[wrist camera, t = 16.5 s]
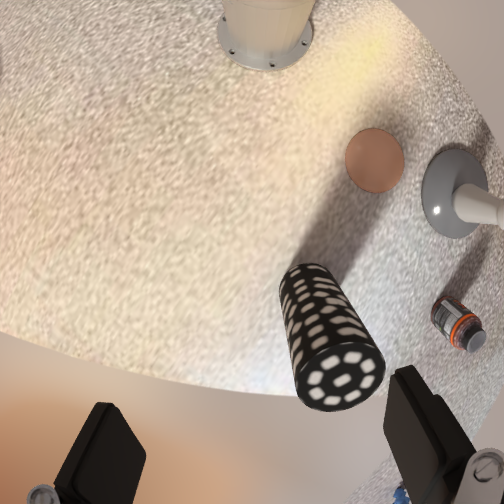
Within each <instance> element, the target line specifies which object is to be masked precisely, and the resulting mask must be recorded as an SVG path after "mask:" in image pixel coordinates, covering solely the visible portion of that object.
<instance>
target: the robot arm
mask: <svg viewBox="0 0 504 504" xmlns="http://www.w3.org/2000/svg"><path fill="white" fill-rule="evenodd" d="M315 1H316V0H222V3H223V8H224V13H223V14H222V16H221V17H220V20H219V22H218V26H217V38H218V41H219V44H220V46H221V49H222V50H223V52H224V53H225V55H226V56H227V57H228V58H229V59H230V60H232V61H233V62H234V63H236V64H238V65H239V66H241V67H244V68H246V69H249V70H254V71H260V72H272V71H278V70H282V69H285V68H288V67H290V66H292V65H294V64H295V63H297V62H298V61H299V60H300V59H301V58H302V57H303V56H304V55H305V54H306V52H307V50H308V49H309V47H310V44H311V40H312V28H311V24H310V21H309V20H308V18H309V15H310V13H311V10H312V8H313V6H314V3H315ZM225 20H226V21H225ZM302 44H305V46H303V45H302ZM232 52H233V53H234V54H233V55H232V54H231V53H232ZM270 65H274V67H271V66H270ZM383 429H384V434H385V436H386V438H387V441H388V443H389V446H390V448H391V451H392V453H393V456H394V458H395V461H396V463H397V466H398V469H399V471H400V474H401V476H402V479H403V481H404V484H405V487H406V489H407V492H408V495H409V497H410V500H411V503H412V504H504V453H503V452H501V451H500V450H498V449H494V448H485V449H482V450H480V451H478V452H477V451H476V450H475V448H474V447H473V445H472V443H471V442H470V440H469V438H468V437H467V435H466V434H465V432H464V430H463V429H462V427H461V426H460V424H459V422H458V421H457V419H456V418H455V416H454V415H453V413H452V412H451V410H450V409H449V407H448V406H447V404H446V403H445V401H444V400H443V398H442V397H441V396H440V395H438V394H436V395H433V394H432V392H431V391H430V389H429V388H428V386H427V385H426V383H425V382H424V380H423V379H422V377H421V376H420V374H419V373H418V371H417V370H416V368H415V367H414V366H413V365H409V366H406V367H402V368H399V369H396V370H395V374H393V375H391V377H390V384H389V391H388V399H387V405H386V412H385V418H384V424H383ZM145 460H146V452H145V450H144V448H143V447H142V445H141V444H140V442H139V441H138V439H137V438H136V436H135V435H134V433H133V432H132V430H131V428H130V427H129V425H128V423H127V422H126V420H125V419H124V417H123V415H122V414H121V412H120V410H119V409H118V408H117V407H115V405H114V404H113V403H104V402H97V403H96V404H95V406H94V407H93V409H92V411H91V413H90V414H89V416H88V418H87V420H86V422H85V424H84V425H83V427H82V429H81V431H80V433H79V435H78V436H77V438H76V440H75V442H74V444H73V446H72V448H71V450H70V452H69V454H68V455H67V458H66V460H65V462H64V463H63V465H62V467H61V469H60V471H59V473H58V475H57V477H56V479H55V481H54V485H55V488H54V489H53V487H51V486H49V485H45V484H42V485H38V486H36V487H34V488H33V489H32V490H31V491H30V492H29V494H28V496H27V504H133V500H134V497H135V494H136V490H137V487H138V483H139V480H140V477H141V473H142V470H143V467H144V463H145Z"/></svg>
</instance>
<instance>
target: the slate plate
mask: <svg viewBox="0 0 504 504" xmlns="http://www.w3.org/2000/svg"><path fill="white" fill-rule="evenodd" d="M463 184H474V185H476V186H477V187H479V188H481V189H483V190H485V191H487V192H488V183H487V178H486V175H485V172H484V170H483V168H482V166H481V164H480V163H479V161H478V160H477V159H476V158H475V157H474V156H473V155H472V154H470V153H469V152H467V151H464V150H460V149H449V150H445V151H443V152H441V153H439V154H438V155H437V156H435V157H434V159H433V160H432V161H431V162H430V164H429V165H428V167H427V169H426V172H425V174H424V178H423V182H422V189H421V199H422V206H423V210H424V213H425V216H426V218H427V220H428V222H429V223H430V225H431V226H432V227H433V229H435V230H436V231H437V232H438V233H440V234H441V235H444V236H446V237H448V238H453V239H457V238H462V237H465V236H467V235H469V234H470V233H472V232H473V231H474V230H475V229H476V228H477V227H478V225H479V224H480V223H471V222H465V221H463V220H462V219H460V218H459V217H458V215H457V214H456V212H455V211H454V209H453V208H452V194H453V193H454V192H455V190H456V189H457V188H458V187H460V186H461V185H463Z"/></svg>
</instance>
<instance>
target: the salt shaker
mask: <svg viewBox="0 0 504 504" xmlns="http://www.w3.org/2000/svg"><path fill="white" fill-rule="evenodd" d="M452 208H453V209H454V211H455V212H456V214H457V215H458V217H459V218H460V219H462V220H463V221H465V222H471V223H484V224H496V225H499V227H500V228H501V229H503V230H504V199H503V200H501V199H499V198H497V197H496V196H494V195H492V194H490V193H488V192H487V191H485V190H483V189H481V188H479V187H477V186H476V185H474V184H463V185H461V186H460V187H458V188H457V189H456V190H455V192H454V193H453V194H452Z"/></svg>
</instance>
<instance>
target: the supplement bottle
mask: <svg viewBox="0 0 504 504" xmlns="http://www.w3.org/2000/svg"><path fill="white" fill-rule="evenodd" d="M431 321H432V323H433V324H434V326H435V327H436V328H437V329H438V330H439V331H440V332H441V333H442V334H443V335H444V336H445V337H446V338H447V339H448V340H449V341H450V343H451V344H452V345H453V346H454V347H455V348H457V349H459V350H467V351H468V352H469V353H475V352H477V351H478V350H479V349H480V348H481V347H482V346H483V344H484V342H485V340H486V333H485V331H484V330H483V329H482V323H481V321H480V319H479V318H478V317H477V316H476V315H475V314H474V313H472V312H471V311H470V310H469V309H467V308H466V307H465V306H464V305H463V304H461V303H460V302H459V301H458V300H456V299H455V298H453V297H451V296H445V297H443V298H441V299H440V300H439V301H437V302H436V304H435V305H434V307H433V309H432V312H431Z"/></svg>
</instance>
